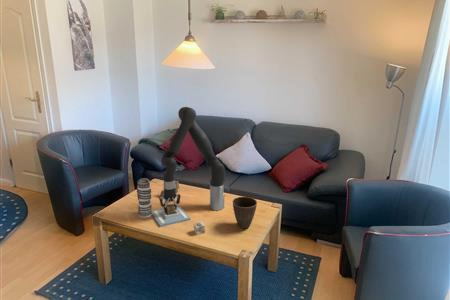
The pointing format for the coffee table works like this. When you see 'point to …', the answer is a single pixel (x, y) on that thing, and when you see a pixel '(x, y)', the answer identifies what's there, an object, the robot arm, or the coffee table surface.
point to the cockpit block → (199, 228)
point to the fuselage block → (170, 209)
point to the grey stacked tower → (144, 197)
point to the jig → (170, 217)
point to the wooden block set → (176, 188)
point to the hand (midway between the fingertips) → (170, 210)
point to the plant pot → (244, 210)
